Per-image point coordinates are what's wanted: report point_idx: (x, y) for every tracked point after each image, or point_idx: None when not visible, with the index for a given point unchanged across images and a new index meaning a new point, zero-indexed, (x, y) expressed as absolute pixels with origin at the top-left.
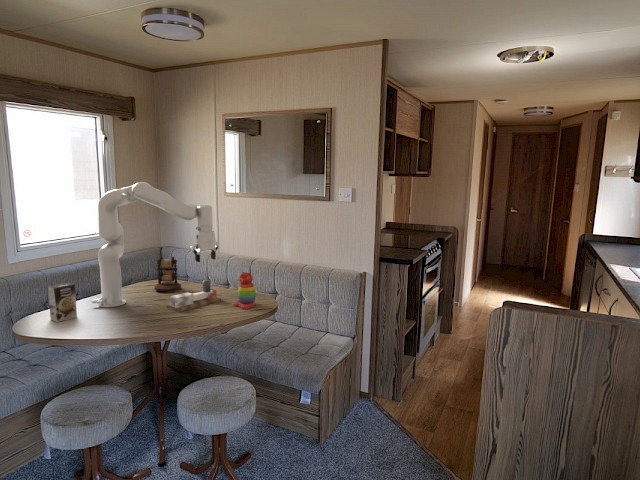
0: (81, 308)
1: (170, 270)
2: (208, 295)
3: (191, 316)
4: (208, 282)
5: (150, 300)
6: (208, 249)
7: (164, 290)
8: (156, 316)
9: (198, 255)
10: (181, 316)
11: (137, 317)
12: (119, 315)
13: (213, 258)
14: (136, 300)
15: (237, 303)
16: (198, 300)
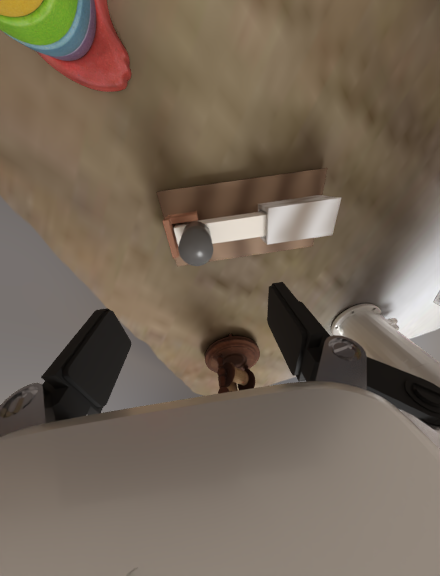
0: None
1: None
2: (197, 217)
3: (336, 69)
4: (194, 230)
5: None
6: (165, 414)
7: (250, 339)
8: (385, 173)
9: (314, 331)
10: (353, 105)
11: (410, 202)
12: (409, 246)
13: (113, 322)
14: None
15: (111, 31)
16: None
